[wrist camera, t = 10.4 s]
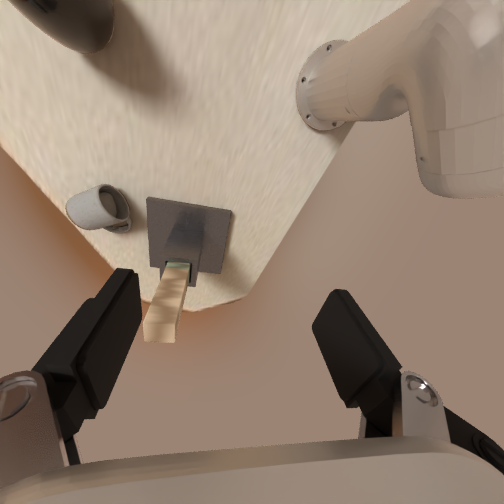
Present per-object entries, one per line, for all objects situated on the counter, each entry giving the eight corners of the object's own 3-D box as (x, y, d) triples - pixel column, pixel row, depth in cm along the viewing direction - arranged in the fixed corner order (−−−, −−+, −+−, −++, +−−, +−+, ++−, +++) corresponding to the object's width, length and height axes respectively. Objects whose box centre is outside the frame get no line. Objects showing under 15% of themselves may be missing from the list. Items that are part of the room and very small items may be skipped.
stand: (230, 210, 47) (232, 238, 36) (220, 270, 57) (219, 307, 45) (148, 196, 44) (121, 223, 32) (151, 263, 53) (131, 301, 42)
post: (193, 250, 43) (175, 324, 27) (192, 265, 45) (174, 342, 29) (173, 247, 42) (142, 323, 26) (173, 263, 44) (144, 341, 28)
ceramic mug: (76, 193, 42) (50, 207, 35) (111, 178, 41) (91, 190, 35) (113, 234, 48) (96, 252, 41) (143, 222, 47) (131, 239, 41)
